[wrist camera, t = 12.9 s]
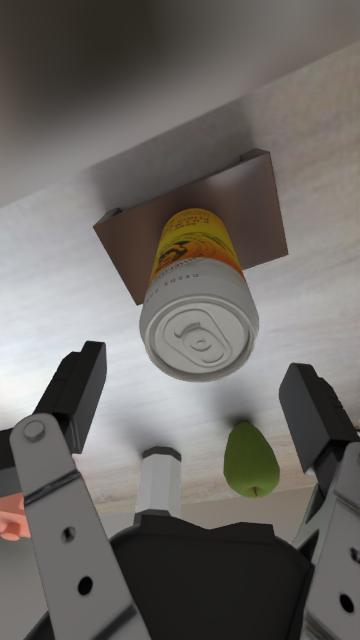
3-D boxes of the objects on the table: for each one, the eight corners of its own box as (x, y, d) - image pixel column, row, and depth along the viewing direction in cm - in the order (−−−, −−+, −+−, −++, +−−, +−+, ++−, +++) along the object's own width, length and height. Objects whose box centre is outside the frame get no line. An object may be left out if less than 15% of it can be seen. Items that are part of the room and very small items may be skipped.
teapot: (-13, 447, 55) (-62, 525, 44) (54, 433, 52) (18, 513, 41) (38, 486, 64) (7, 559, 53) (98, 476, 61) (79, 552, 50)
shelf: (256, 147, 26) (269, 151, 22) (275, 237, 30) (288, 254, 26) (105, 212, 29) (92, 226, 25) (143, 284, 34) (136, 306, 30)
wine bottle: (135, 449, 54) (91, 717, 30) (175, 443, 53) (163, 720, 28) (149, 470, 59) (121, 719, 34) (186, 465, 57) (185, 721, 32)
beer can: (200, 190, 23) (214, 259, 11) (240, 245, 26) (287, 352, 13) (147, 236, 26) (109, 336, 13) (189, 282, 28) (189, 402, 16)
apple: (213, 416, 48) (219, 487, 38) (262, 406, 46) (281, 478, 37) (226, 443, 53) (234, 513, 43) (271, 435, 51) (290, 506, 41)
